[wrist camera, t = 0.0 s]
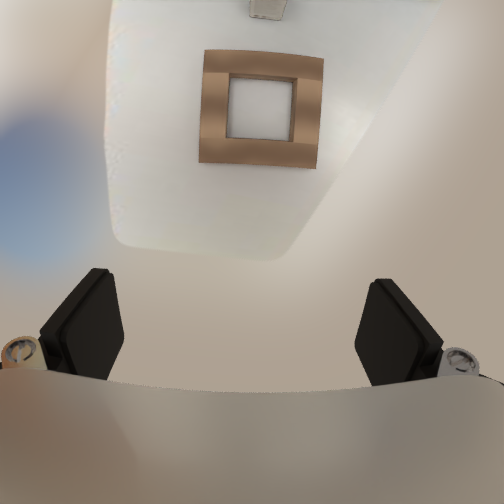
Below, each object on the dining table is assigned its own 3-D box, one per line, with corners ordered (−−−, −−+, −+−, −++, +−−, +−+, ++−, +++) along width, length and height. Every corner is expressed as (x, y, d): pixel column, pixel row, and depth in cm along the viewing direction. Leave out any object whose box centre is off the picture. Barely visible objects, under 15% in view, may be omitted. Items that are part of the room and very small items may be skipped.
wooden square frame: (207, 56, 33) (204, 49, 30) (316, 64, 34) (323, 58, 31) (202, 159, 38) (198, 162, 35) (309, 165, 39) (315, 169, 36)
